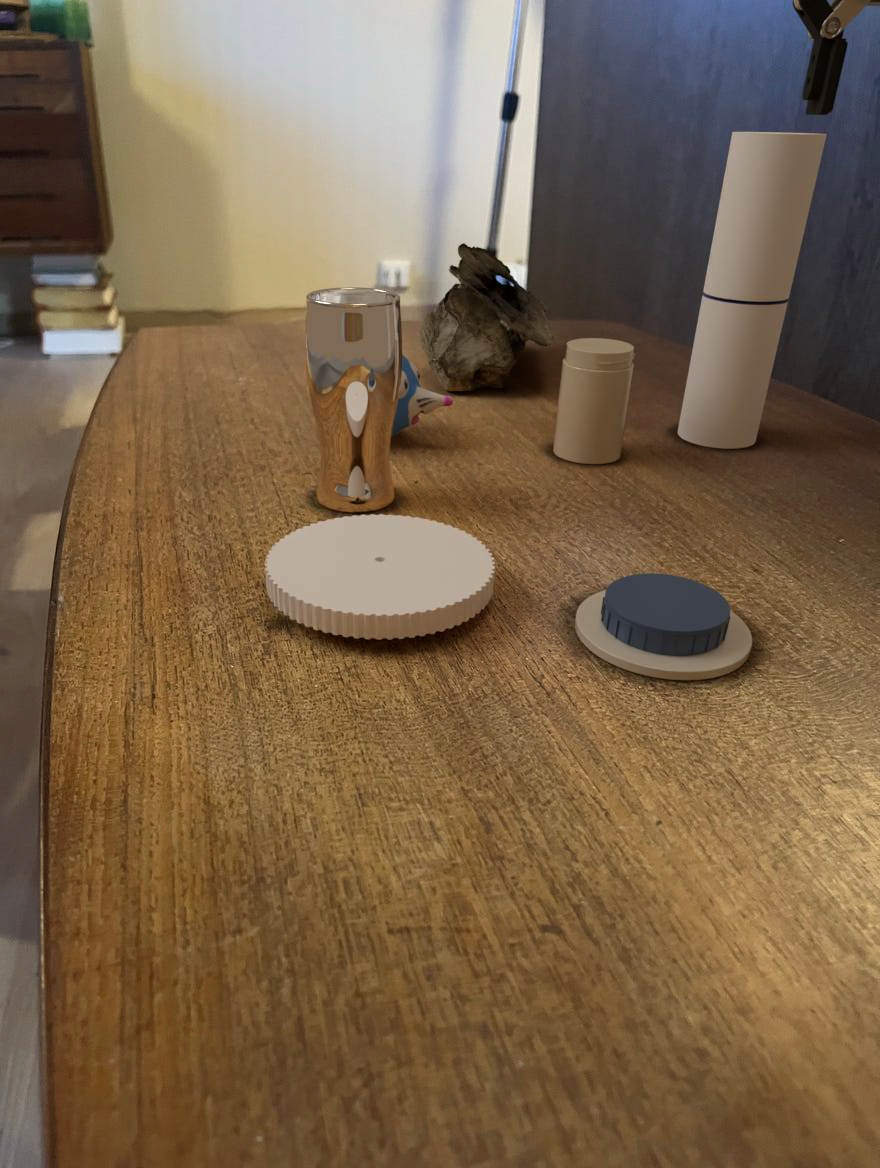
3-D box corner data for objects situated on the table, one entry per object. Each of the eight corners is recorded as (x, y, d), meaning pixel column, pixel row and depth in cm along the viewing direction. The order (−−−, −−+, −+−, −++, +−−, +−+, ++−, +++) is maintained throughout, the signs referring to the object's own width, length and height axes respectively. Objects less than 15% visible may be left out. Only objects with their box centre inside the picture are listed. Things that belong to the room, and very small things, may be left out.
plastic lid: (301, 540, 62) (300, 506, 61) (500, 558, 60) (503, 523, 59) (236, 641, 50) (232, 602, 49) (481, 667, 48) (484, 627, 47)
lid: (716, 668, 47) (722, 643, 47) (587, 638, 50) (591, 614, 49) (732, 611, 53) (738, 587, 52) (615, 586, 55) (619, 563, 55)
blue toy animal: (431, 470, 75) (435, 369, 70) (302, 452, 78) (298, 355, 73) (468, 429, 84) (473, 338, 80) (352, 415, 87) (351, 327, 83)
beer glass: (416, 492, 70) (421, 293, 62) (369, 522, 65) (369, 308, 57) (343, 475, 73) (339, 283, 65) (293, 503, 68) (282, 297, 60)
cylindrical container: (678, 444, 81) (735, 132, 68) (676, 421, 87) (729, 131, 74) (759, 451, 80) (833, 135, 67) (751, 428, 86) (818, 133, 73)
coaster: (770, 624, 53) (773, 615, 53) (719, 702, 46) (721, 692, 45) (614, 579, 58) (615, 570, 57) (545, 643, 51) (546, 634, 50)
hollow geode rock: (490, 378, 119) (417, 287, 115) (566, 313, 112) (492, 216, 109) (453, 434, 95) (359, 323, 91) (547, 356, 89) (451, 233, 85)
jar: (630, 450, 80) (646, 343, 75) (606, 469, 75) (622, 357, 71) (568, 438, 82) (580, 334, 78) (541, 455, 78) (553, 347, 73)
